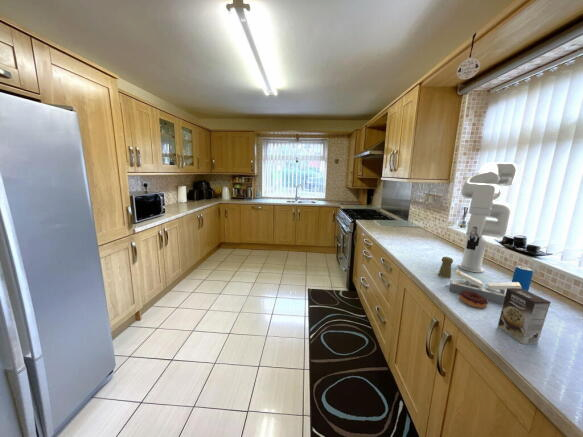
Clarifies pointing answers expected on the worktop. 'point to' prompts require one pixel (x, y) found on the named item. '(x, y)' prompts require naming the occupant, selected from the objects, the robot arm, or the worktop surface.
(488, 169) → the robot arm
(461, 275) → the block
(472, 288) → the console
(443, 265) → the cork
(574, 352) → the worktop surface
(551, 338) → the worktop surface
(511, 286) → the block
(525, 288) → the beverage can
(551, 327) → the worktop surface
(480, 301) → the donut
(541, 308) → the coffee box
